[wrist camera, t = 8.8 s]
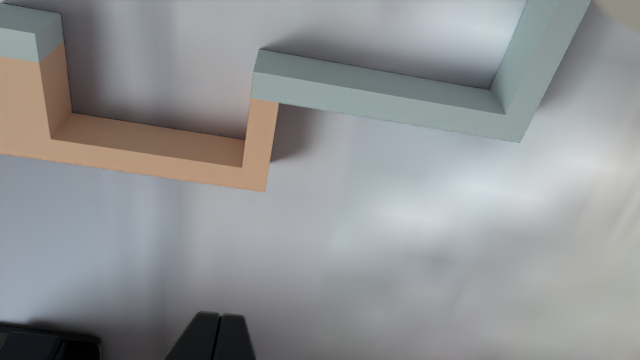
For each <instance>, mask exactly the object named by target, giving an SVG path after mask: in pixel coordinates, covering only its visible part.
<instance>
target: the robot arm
mask: <svg viewBox="0 0 640 360" xmlns="http://www.w3.org/2000/svg"><path fill="white" fill-rule="evenodd" d="M0 360H103V351H102V342H101V340H100V339H99V338H97V337H94V336H87V335H78V334H68V333H59V332H50V331H40V330H31V329H21V328H12V327H3V326H0ZM163 360H257V359H256V355H255V351H254V348H253V344H252V341H251V337H250V334H249V330H248V326H247V323H246V319H245V317H244V316H243V315H241V314H229V313H225V314H223V315H222V316H221V315H220V313H217V312H207V311H200V312H198V313H197V314H196V315H195V317H194V318H193V319H192V321H191V322H190V323H189V325H188V326H187V327H186V329H185V330H184V331H183V333H182V334H181V335H180V337H179V338H178V339H177V341H176V342H175V343H174V345H173V346H172V347H171V349H170V350H169V352H168V353H167V354H166V356H165V357H164V358H163Z"/></svg>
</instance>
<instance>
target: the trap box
mask: <svg viewBox="0 0 640 360" xmlns="http://www.w3.org/2000/svg"><path fill="white" fill-rule="evenodd" d="M590 2H591V0H528V2H527V4H526V6H525V9H524V11H523V13H522V16H521V18H520V20H519V23H518V25H517V27H516V30H515V32H514V34H513V37H512V39H511V41H510V44H509V46H508V48H507V51H506V53H505V55H504V58H503V60H502V62H501V65H500V67H499V69H498V72H497V74H496V76H495V79H494V81H493V83H492V86H491V88H490V90H485V89H480V88H474V87H468V86H463V85H457V84H452V83H446V82H440V81H435V80H429V79H424V78H418V77H412V76H407V75H401V74H396V73H390V72H384V71H379V70H373V69H368V68H362V67H356V66H351V65H345V64H340V63H334V62H328V61H323V60H317V59H312V58H306V57H300V56H295V55H289V54H284V53H278V52H272V51H267V50H261V49H259V52H258V56H257V60H256V64H255V68H254V73H253V81H252V90H251V98H250V106H249V115H248V123H247V131H246V140H242V139H235V138H229V137H222V136H216V135H210V134H203V133H197V132H190V131H184V130H178V129H171V128H165V127H159V126H152V125H146V124H139V123H133V122H127V121H120V120H114V119H107V118H101V117H95V116H88V115H82V114H75V113H72V107H71V99H70V90H69V81H68V73H67V64H66V55H65V47H64V38H63V29H62V21H61V14H60V13H54V12H48V11H43V10H37V9H32V8H26V7H20V6H15V5H9V4H4V3H0V154H5V155H12V156H19V157H26V158H33V159H40V160H46V161H53V162H60V163H67V164H74V165H81V166H88V167H95V168H102V169H109V170H115V171H122V172H129V173H136V174H143V175H150V176H157V177H164V178H171V179H178V180H184V181H191V182H198V183H205V184H212V185H219V186H226V187H233V188H240V189H247V190H253V191H260V192H265V189H266V182H267V176H268V170H269V163H270V157H271V151H272V144H273V138H274V132H275V125H276V119H277V113H278V106H279V103H283V104H289V105H295V106H301V107H307V108H313V109H319V110H325V111H331V112H337V113H343V114H349V115H355V116H361V117H367V118H373V119H379V120H385V121H391V122H397V123H403V124H409V125H415V126H421V127H427V128H433V129H439V130H445V131H451V132H457V133H463V134H469V135H475V136H481V137H487V138H493V139H499V140H505V141H511V142H517V143H520V142H521V140H522V138H523V136H524V134H525V132H526V130H527V128H528V126H529V124H530V122H531V120H532V118H533V116H534V114H535V112H536V110H537V108H538V106H539V104H540V102H541V100H542V98H543V96H544V94H545V92H546V90H547V88H548V86H549V84H550V82H551V80H552V78H553V76H554V74H555V72H556V70H557V68H558V66H559V64H560V62H561V60H562V58H563V56H564V54H565V52H566V50H567V48H568V46H569V44H570V42H571V40H572V38H573V36H574V34H575V32H576V30H577V28H578V26H579V24H580V22H581V20H582V18H583V16H584V14H585V12H586V10H587V8H588V6H589V4H590Z"/></svg>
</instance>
